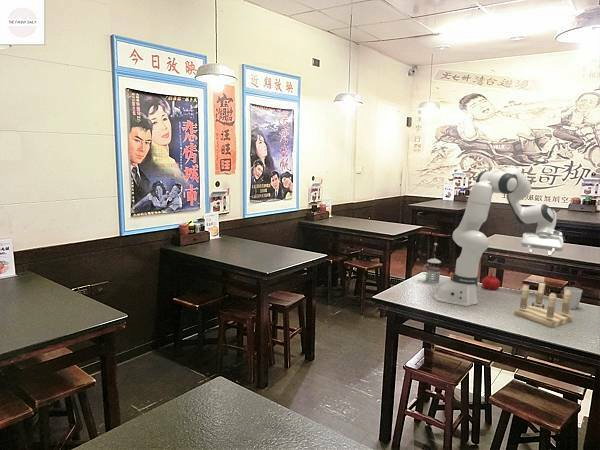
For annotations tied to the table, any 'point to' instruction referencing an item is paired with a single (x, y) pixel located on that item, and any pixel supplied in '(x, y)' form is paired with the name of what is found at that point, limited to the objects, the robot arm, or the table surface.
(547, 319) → the stool
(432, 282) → the french press
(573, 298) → the cup
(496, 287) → the pomegranate
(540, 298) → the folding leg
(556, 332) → the table surface
